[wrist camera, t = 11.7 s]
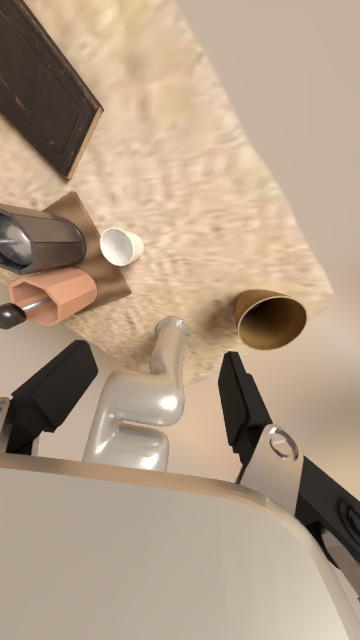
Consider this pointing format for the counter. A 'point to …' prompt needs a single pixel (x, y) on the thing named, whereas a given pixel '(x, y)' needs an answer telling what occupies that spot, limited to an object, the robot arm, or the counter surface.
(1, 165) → the counter surface
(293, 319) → the plant pot
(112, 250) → the white cup
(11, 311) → the black knob metal plunger
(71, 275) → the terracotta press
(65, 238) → the dark grey faceted mug
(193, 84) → the counter surface
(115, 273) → the walnut board
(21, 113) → the hardcover book
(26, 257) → the charcoal plunger
